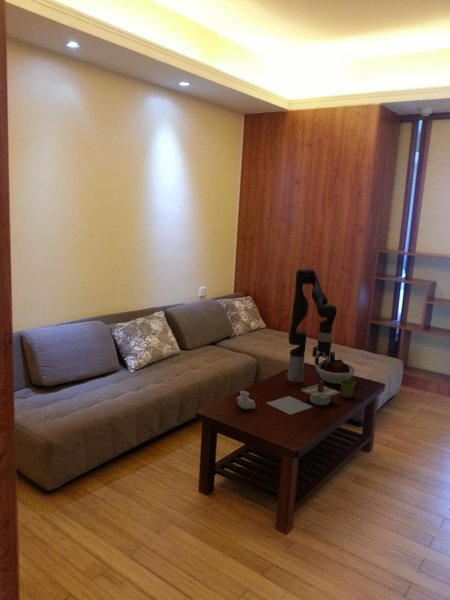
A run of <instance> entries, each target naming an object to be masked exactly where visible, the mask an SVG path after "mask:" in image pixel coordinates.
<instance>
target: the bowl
mask: <svg viewBox="0 0 450 600" xmlns="http://www.w3.org/2000/svg"><path fill="white" fill-rule="evenodd" d="M309 396H310V397H309V401H310V402H311V403H312V404H314V405H318V406H325V405H326V406H327V405H329V404H330V403H331V397H329V398H326V399H323V400H322V399H320V398H317V397H315V396H312V395H310V394H309Z"/></svg>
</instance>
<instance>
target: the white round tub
mask: <svg viewBox="0 0 450 600" xmlns="http://www.w3.org/2000/svg"><path fill="white" fill-rule="evenodd" d="M327 363H328V362H327V360H326V359H325V360H322V361H321V362H319V364H318V365H315V369H316V371H317V373H318V374H319V376H320V380H322V381H324V382H326V383H329V384H333V385H334V384H337V385H338V384H339V385H340V381H341V380H350V379H351V378H352V377H353V376H354V374H355V373H356V369H355V367H354V366H352V365H350V364H349V363H346V362H344V360H343V359H341V358H339V359H335V362H333V363H331V368H330V369H327Z"/></svg>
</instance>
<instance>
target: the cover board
mask: <svg viewBox="0 0 450 600" xmlns="http://www.w3.org/2000/svg"><path fill="white" fill-rule="evenodd" d="M317 381H318V382H317V384H315V385H312V386H311V385H310V386H308V387H304V388H302V389H300V392H303V393H305V394H307V395H309V396H310V395H312V396H315V397H317V398H320V399H322V400H323V399H326V398H329V397H330V398H331V397H334V396H337V395H340V394H341V391H338V390H336V389H333V388H330V387H327V386H325V381H324V380H323V379H320V380H317Z"/></svg>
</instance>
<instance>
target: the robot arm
mask: <svg viewBox="0 0 450 600" xmlns="http://www.w3.org/2000/svg"><path fill="white" fill-rule="evenodd" d="M304 285H311V286H312V290H311V298H312V300H313V302H314V304H315V306H316V311H317V312H316V313H317V315H318V316H319V317H320V318H323V319H324V318H326V319H324V320H322V321H320V323H319V326H318V327H319V328H318V335H317V336H318V337H317V346H313V347H312V348H313V349H312V355H311V356H312V357H313V358H314V364H315V366H316V365H318V364H319V363H320V357H322V358H324V359H325V360H327V362H328V363H327V369H330V368H331V363H333V362H335V360H336V359H335V358H336V353H335V351H331V348H332V341H333V340H332V339H333V334H332V333H333V325H334V322H335V319H336V315H337V313H338V311H337V307H336V306H335V305H333V304H328V301H329V300H328V298H327V297H326V295H325V293H324V292H323V289H322V287H321V284H320V281H319V279H318V277H317V274H316V271H315V270H314V269H312V268H301V269H298V270H297V271H296V274H295V287H294V288H295V289H294V298H293V299H294V300H293V303H292V314H291V315H292V316H291V321H290V322H291V323H290V329H289V333H288V343H289V345H292V346H296V347H294V348H292V349H291V350H290V351H289V363H288V366H287V378H286V379H287V380H288V381H289V383H290V382H291V383H295V384H297V383H302V382H303V380H304V369H305V367H304V366H305V354H306V345H307V333H306V331H304V330H298V326H299V325H300V324H301V323H302V322H303V320H304V319H305V318H306V317H307V315H308V312H309V310H308V309H309V302H308V299H307V297H306V296H305V294H304V289H303V288H304Z"/></svg>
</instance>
